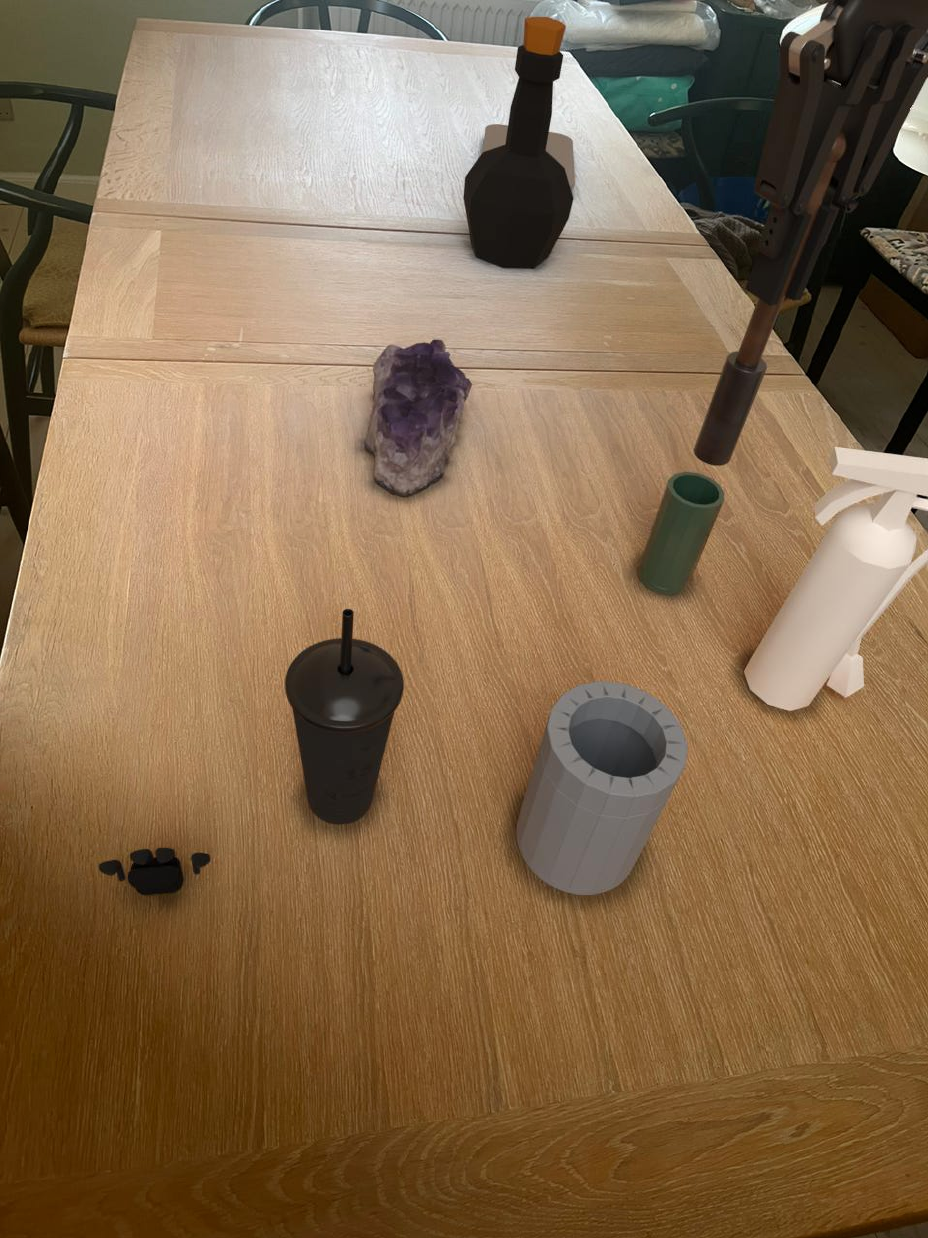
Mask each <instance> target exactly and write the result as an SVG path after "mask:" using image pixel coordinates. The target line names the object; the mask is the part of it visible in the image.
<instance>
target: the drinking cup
mask: <svg viewBox="0 0 928 1238" xmlns="http://www.w3.org/2000/svg"><path fill="white" fill-rule="evenodd" d="M341 615H342V616H341V637H337V638H329V639H325V640H321V641H319V642H316V643H314V644H312V645H310V646H308V647H306V648H305V649H303V650H301V652H300V653H299V654H298V655H296V656H295V657H294V658H293V660H292V662H290V665H289V667H288V668H287V670H286V674H285V679H284V680H285V681H284V690H285V691H284V692H285V695H286V699H287V701H288V703H289V705H290V707H291V709H292V713H293V720H294V725H295V733H296V736H297V738H296V739H297V743H298V750H299V756H300V761H301V767H302V773H303V779H304V783H305V785H304V786H305V791H306V797H307V802H308V806H309V809H310V810H311V811H312V813H313V814H314V815H315V816H316V817H317V818H318V819H320V820H321V821H323V822H325V823H328V824H331V825H347V824H351V823H354V822H356V821H358V820H360V819H361V818H362V817H364V816H365V815H366V814H367V812H368V810H370V807H371V806H372V802H373V799H374V795H375V791H376V786H377V782H378V779H379V775H380V771H381V767H382V763H383V759H384V755H385V750H386V747H387V743H388V739H389V734H390V730H391V726H392V724H393V723H392V722H393V719H394V715H395V711H396V710H398V707H399V705H400V704H401V701H402V698H403V695H404V689H405V681H404V675H403V672H402V669H401V668H400V665H399V664H398V662H397V661H396V660H395V659H394V657H393V656H391V654H390V653H388V652H387V651H386V650H385V649H384V648H382V647H380V646H378V645H376V644H374V643H372V642H369V641H367V640H362V639H358V638H353V635H354V617H355V612H354V610H353V609H352V608H345V609H343V610H342V613H341Z"/></svg>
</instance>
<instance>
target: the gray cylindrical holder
mask: <svg viewBox="0 0 928 1238" xmlns="http://www.w3.org/2000/svg"><path fill="white" fill-rule="evenodd" d="M542 734H543V735H542V738H541V740H540V744H539V747H538V751H537V753H536V754H537V755H536V756H535V761H534V763H533V767H532V770H531V774H530V777H529V780H528V784H527V787H526V791H525V794H524V797H523V801H522V803H521V807H520V811H519V815H518V818H517V822H516V828H515V831H516V832H515V836H516V844H517V846H518V850H519V853H520V855H521V857H522V859H523V860H524V862H525V864H526V865H527V867H528V868H529V869H530V871H531V872H532V873H533V874H535V876H536V877H537V878H539V879H540V880H541V881H542V882H544V883H545V884H547V885H548V886H550V887H551V888H554V889H556V890H558V891H561V892H563V893H566V894H571V895H579V896H594V895H601V894H603V893H606V892H609V891H611V890H614V889H615V888H617V887H618V886H620V885H621V884H622V883H623V882H624V881H625V880H626V879H627V878H628V876H629V875H630V874H631V872H632V870H633V868H634V866H635V865H636V863H637V861H638V859H639V858H640V856H641V854H642V851H643V850H644V848H645V846H646V844H647V842H648V840H649V838H650V835H651V834H652V832H653V831H654V828H655V827H656V824H657V822H658V821H659V818H660V816H661V814H662V813H663V811H664V809H665V807H666V805H667V802H668V801H669V798H670V797H671V795H672V793H673V791H674V789H675V787H676V785H677V784H678V781H679V779H680V778H681V776H682V773H683V771H684V769H685V767H686V765H687V757H688V747H689V746H688V741H687V739H686V735H685V733H684V729H683V727H682V724H681V723H680V721H679V720H678V719H677V717H676V716H675V715H674V713H673V712H672V711H671V710H670V709H669V707H668V706H666V704H664V703H663V702H661V701H660V700H658V698H656V697H654V696H653V695H652V694H650V693H649V692H647V691H645V690H642V689H640V688H637V687H634V686H632V685H631V684H627V683H622V682H614V681H607V680H599V681H594V682H593V681H592V682H587V683H582V684H579V685H577V686H575V687H573V688H571V689H569V690H567V691H566V692H564V693H563V694H562V695H561V696H560V697H559V698H558V699H557V701H556V702H555V703H554V705H553V706H552V707H551V709H550V712H549V715H548V718H547V720H546V724H545V728H544V732H543V733H542Z"/></svg>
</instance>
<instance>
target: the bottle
mask: <svg viewBox="0 0 928 1238" xmlns="http://www.w3.org/2000/svg"><path fill="white" fill-rule="evenodd" d="M566 28H567V25H565V23H563V21H560V20H557V19H555V18H552V17H549V16H529V17H525V18H524V26H523V29H524V30H523V44H522V45H519V46H517V52H516V57H515V58H516V59H515V63H514V64H515V65H514V71H515V73H516V74H517V77H518V80H517V83H516V87H515V91H514V94H513V97H512V101H511V104H510V109H509V116H508V123H507V125H508V129H507V136H506V143H505V145H502V146H499V147H497V148H494V149H491V150H488V151H485V152H482V151H481V154H480V155H479V156H478V158H477V159H476V161H475V162H474V164H473V165H472V167H471V168H470V170H469V171H468V172H467V174H466V175H465V177H464V184H463V195H462V196H463V204H464V211H465V216H466V222H467V228H468V234H469V241H470V244H471V247H472V250H473V252H474V254H475V257H476V258H479V259H481V260H483V261H485V262H488V263H491V264H493V265H495V266H497V267H500V268H502V269H535V268H536V267H538V266H539V265H541V264H542V263H543V262H545V261H546V260H548V259H549V257H550V255H551V253H552V251H553V249H554V247H555V245H556V243H557V241H558V240H559V238H560V237H561V234H562V232H563V230H564V229H565V227H566V225H567V223H568V222H569V219H570V215H571V212H572V208H573V204H574V203H573V202H574V200H575V199H574V195H573V191H572V189H571V188H570V185H569V181H568V178H567V175H566V171H565V168H564V167H563V166H562V165H561V164H560V163H559V162H558V161H557V160H556V159H555V158H554V157H553V156H551V155H550V154H549V153H548V152H547V151H546V145H547V140H548V134H549V132H550V128H551V123H552V117H553V116H552V115H553V100H554V99H553V97H554V94H553V93H554V82H555V81H557V80H559V79H560V77H561V71H562V66H563V60H564V54H563V53H562V52H561V51H560V50H561V45H562V42H563V38H564V35H565V31H566Z"/></svg>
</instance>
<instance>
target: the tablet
mask: <svg viewBox="0 0 928 1238" xmlns="http://www.w3.org/2000/svg"><path fill="white" fill-rule="evenodd" d="M507 129H508V124H500V123H492V124H488V125H486V126H485V129H484V134H483V135H484V136H483V144H482V149H481V153H482V152H485V151H488V150H491V149H494V148H497V147H499V146H502V145H505V143H506V136H507ZM546 151H547V152H548V153H549V154H550V155H551V156H553V157H554V158H555V159H556V160H557V161H558V162H559V163H560V164H561V165H562V166H563V167H564V168H565V171H566V175H567V178H568V181H569V185H570V188H571V190H573V189H574V188H575V185H576V175H575V174H576V173H575V156H574V140H573V139H572V138H571V137H569V136H567V135H565V134H563V133H560V132H559V133H558V132H553V131H549V134H548V140H547V145H546Z"/></svg>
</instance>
